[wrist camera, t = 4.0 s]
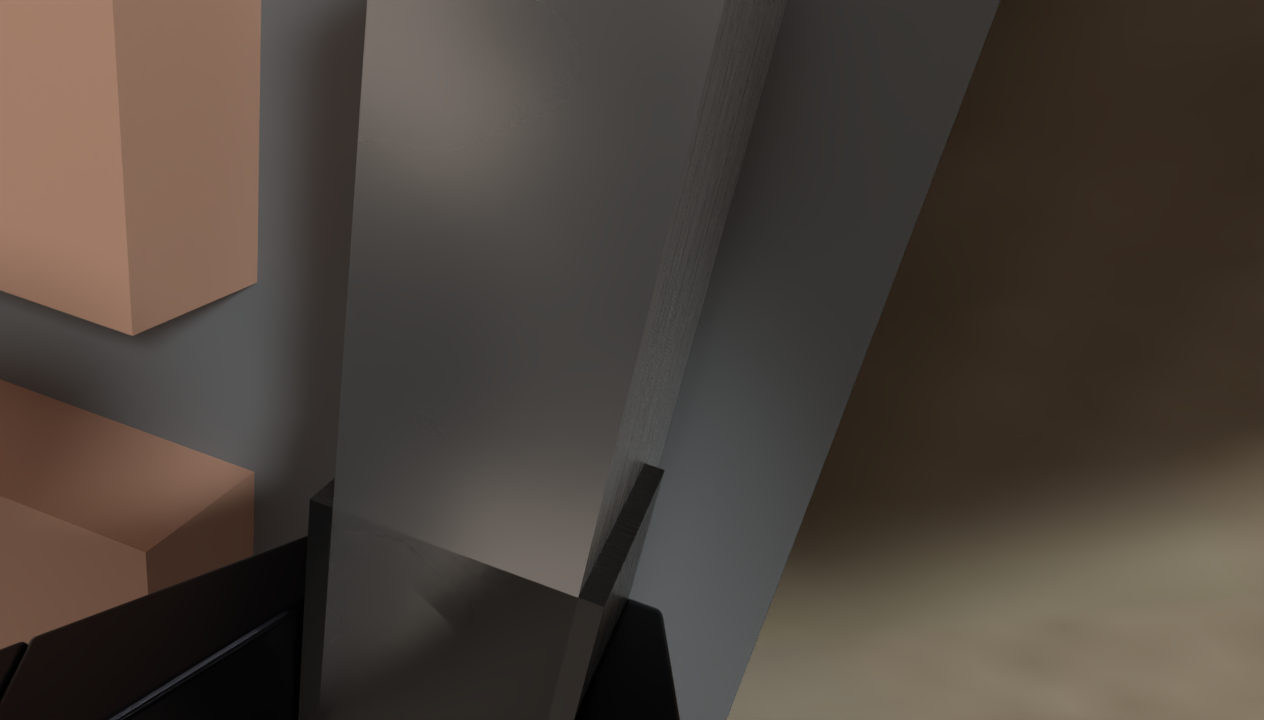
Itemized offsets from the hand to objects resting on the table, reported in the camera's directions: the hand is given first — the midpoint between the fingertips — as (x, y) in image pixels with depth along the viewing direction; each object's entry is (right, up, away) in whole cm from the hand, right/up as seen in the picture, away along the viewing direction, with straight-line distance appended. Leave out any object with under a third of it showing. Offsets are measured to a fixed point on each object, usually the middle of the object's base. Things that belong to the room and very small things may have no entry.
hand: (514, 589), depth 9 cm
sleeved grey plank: (0, +1, +1) cm, 2 cm away
